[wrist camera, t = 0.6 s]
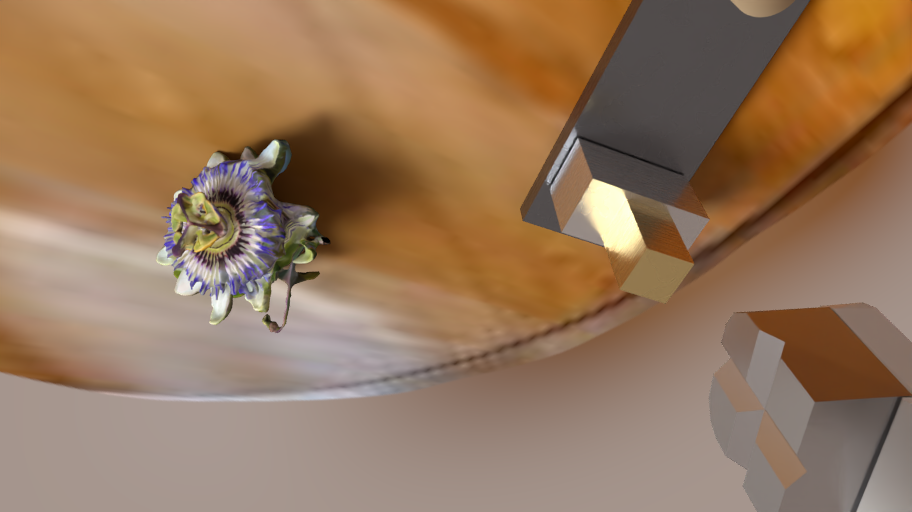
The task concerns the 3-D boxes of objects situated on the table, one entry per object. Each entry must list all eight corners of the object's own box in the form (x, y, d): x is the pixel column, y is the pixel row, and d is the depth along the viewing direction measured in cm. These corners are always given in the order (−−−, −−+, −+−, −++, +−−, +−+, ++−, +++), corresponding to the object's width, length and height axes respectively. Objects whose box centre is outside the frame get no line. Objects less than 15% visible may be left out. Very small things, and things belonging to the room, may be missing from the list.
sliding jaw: (577, 137, 49) (610, 227, 41) (686, 176, 51) (737, 269, 43) (549, 188, 51) (575, 283, 43) (654, 224, 54) (698, 321, 46)
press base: (734, -191, 40) (792, -167, 34) (872, -120, 43) (948, -86, 37) (520, 208, 54) (534, 275, 48) (633, 245, 57) (659, 313, 51)
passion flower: (237, 125, 56) (250, 102, 44) (354, 225, 59) (394, 228, 47) (128, 248, 54) (112, 257, 42) (254, 344, 57) (270, 377, 45)
